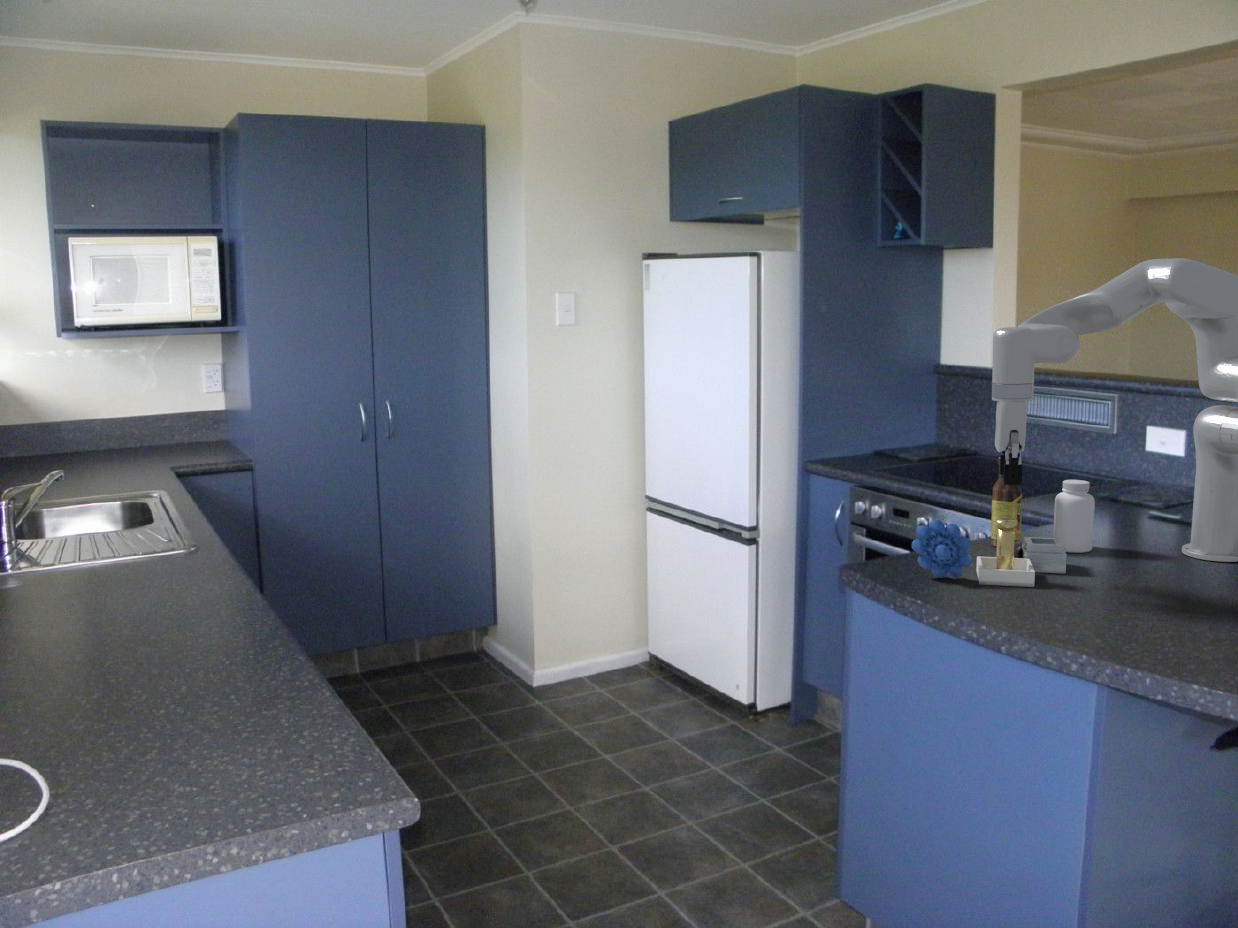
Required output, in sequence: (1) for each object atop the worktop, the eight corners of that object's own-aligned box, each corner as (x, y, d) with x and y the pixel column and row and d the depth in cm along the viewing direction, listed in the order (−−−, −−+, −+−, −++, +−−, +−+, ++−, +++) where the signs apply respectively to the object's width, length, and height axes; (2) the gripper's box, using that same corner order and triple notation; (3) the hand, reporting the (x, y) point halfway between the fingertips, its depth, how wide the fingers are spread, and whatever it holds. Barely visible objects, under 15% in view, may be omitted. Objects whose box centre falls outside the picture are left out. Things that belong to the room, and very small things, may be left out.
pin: (993, 572, 211) (994, 517, 209) (1014, 573, 210) (1016, 518, 208) (994, 577, 207) (996, 521, 205) (1016, 578, 206) (1018, 522, 204)
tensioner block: (1060, 563, 219) (1061, 537, 218) (1065, 573, 211) (1067, 546, 210) (994, 560, 222) (995, 534, 221) (996, 570, 214) (997, 544, 213)
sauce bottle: (1022, 550, 230) (1026, 460, 226) (992, 549, 231) (996, 460, 228) (1017, 542, 236) (1021, 455, 233) (988, 542, 237) (991, 455, 234)
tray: (1028, 573, 212) (1029, 558, 211) (1034, 587, 202) (1034, 571, 202) (976, 570, 214) (976, 556, 214) (979, 584, 205) (979, 569, 204)
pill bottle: (1090, 545, 232) (1094, 478, 230) (1093, 554, 225) (1097, 485, 222) (1051, 543, 235) (1054, 477, 232) (1053, 552, 227) (1057, 484, 225)
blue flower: (911, 582, 207) (913, 523, 205) (910, 573, 213) (911, 515, 211) (973, 585, 204) (976, 525, 202) (970, 576, 211) (972, 517, 209)
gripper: (988, 387, 211) (987, 471, 214) (995, 397, 195) (993, 488, 198) (1028, 387, 209) (1026, 471, 212) (1038, 397, 193) (1035, 488, 196)
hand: (1010, 479), depth 205 cm, fingers open, 9 cm apart
